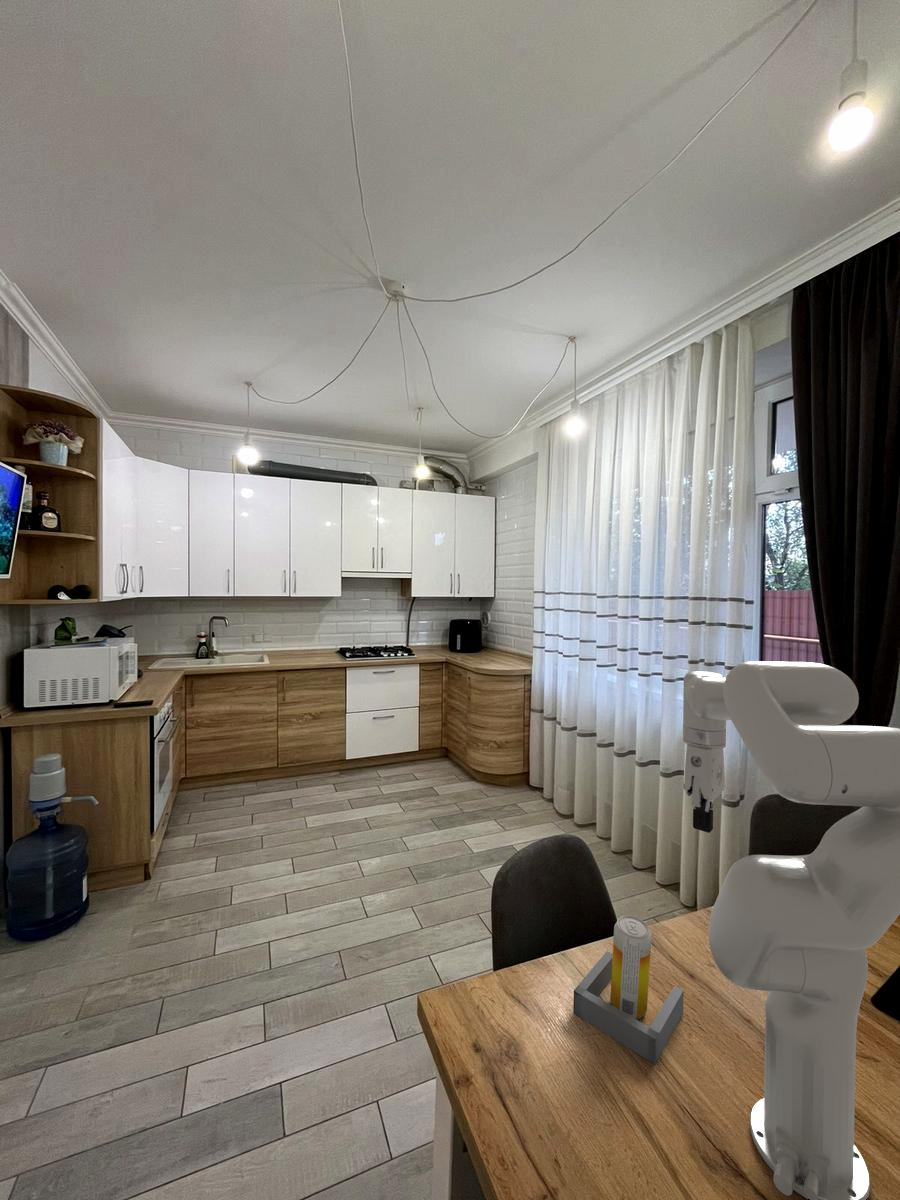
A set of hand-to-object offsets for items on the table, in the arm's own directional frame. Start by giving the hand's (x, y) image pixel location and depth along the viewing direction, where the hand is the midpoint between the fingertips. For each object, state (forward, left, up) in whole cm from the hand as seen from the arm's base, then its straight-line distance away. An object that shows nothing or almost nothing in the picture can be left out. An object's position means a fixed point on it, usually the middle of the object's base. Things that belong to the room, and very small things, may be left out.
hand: (702, 829), depth 97 cm
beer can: (-19, +6, -27) cm, 34 cm away
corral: (-20, +6, -27) cm, 34 cm away
